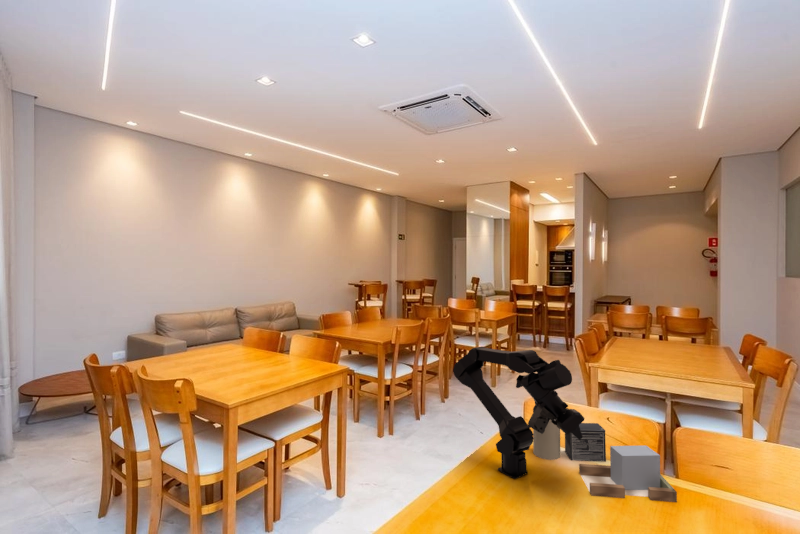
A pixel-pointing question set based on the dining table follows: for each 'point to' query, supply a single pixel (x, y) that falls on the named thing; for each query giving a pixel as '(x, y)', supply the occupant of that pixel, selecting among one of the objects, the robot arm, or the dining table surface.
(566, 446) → the small box
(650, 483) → the block
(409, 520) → the dining table surface
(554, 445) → the travel mug
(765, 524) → the dining table surface
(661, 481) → the brown piece
